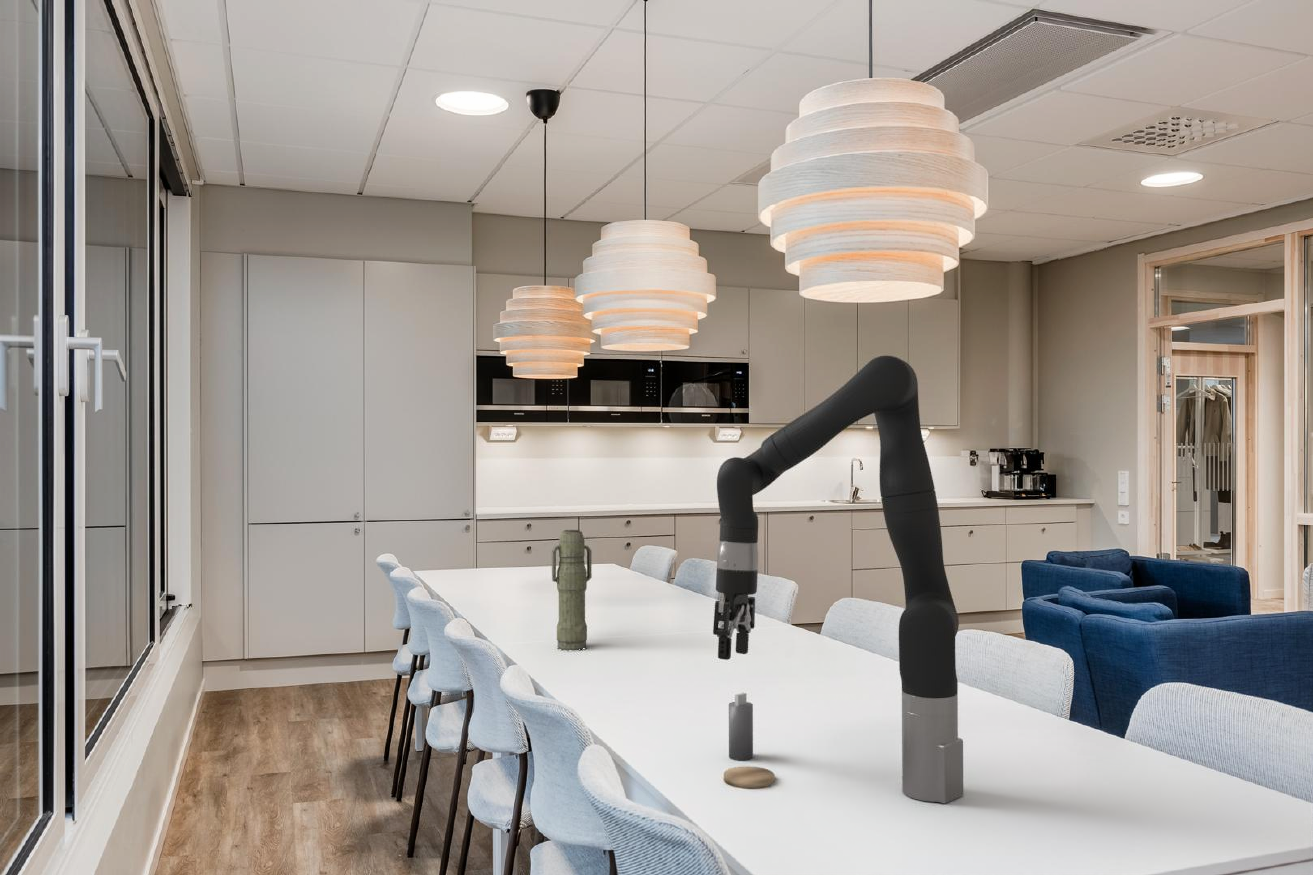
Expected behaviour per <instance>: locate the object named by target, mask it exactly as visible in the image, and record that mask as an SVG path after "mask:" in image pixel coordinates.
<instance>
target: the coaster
mask: <svg viewBox="0 0 1313 875" xmlns="http://www.w3.org/2000/svg"><path fill="white" fill-rule="evenodd" d="M723 782H724V783H725V784H727V785H729V786H731V787H735V788H739V787H740V789H761V788H762V787H763V788H766V787H770V786H772V785H774V783H775V773H774V772H773V771H771V770H770V769H767V768H764V767H759V766H749V765H747V766H746V765H745V766H744V765H743V766H735V767H730V768H728V769H726V770H725V771H724V772H723ZM763 788H762V789H763Z"/></svg>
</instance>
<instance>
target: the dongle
mask: <svg viewBox="0 0 1313 875" xmlns="http://www.w3.org/2000/svg"><path fill="white" fill-rule="evenodd" d="M753 706H754V704H753V703H752V702H749V701H747V693H746V692H741V693H735V694H734V701H733V702H729V704H728V757H729V759H730V760H733V761H738V762H741V761H742V762H744V761H750V760H753V759H754V726H753V725H754V707H753Z"/></svg>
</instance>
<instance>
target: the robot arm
mask: <svg viewBox="0 0 1313 875" xmlns="http://www.w3.org/2000/svg"><path fill="white" fill-rule="evenodd" d="M872 414H874V417H875V420H876V421H875V422H876V425H877V430H878V436H879V444H880V445H879V446H880V449H879V493H880V497H881V498H880V499H881V506H882V511H883V517H884V522H885V526H886V530H887V532H888V535H889V539H890V541H891V543H892V547H893V549H894V552H895V554H896V557H897V559H898V562H899V564H900V569H901V572H902V579H903V586H904V587H903V588H904V598H905V599H904V600H905V602H904V603H905V608H904V610H903V611H902V613H901V614H900V617H899V618H900V619H899V622H898V659H899V660H898V661H899V663H898V664H899V665H898V666H899V676H900V680H901V769H902V772H901V774H902V776H901V777H902V778H901V782H902V784H901V786H902V788H901V790H902V792H903V794H904V795H906V796H907V797H909V798H912V799H915V800H917V801H923V802H932V803H941V804H947V803H950V802H952V801H954V800H956V799H957V798H961V797H963V796H964V740H963V738H960V737H959V721H958V720H959V718H958V717H959V715H958V714H959V712H958V710H959V708H958V706H959V702H958V700H959V699H958V698H959V697H958V696H959V694H958V693H959V692H958V691H959V690H958V688H959V684H958V681H959V680H958V676H957V669H956V668H957V667H956V666H957V664H956V637H957V634H958V632H959V627H960V626H959V624H960V623H959V615H958V612H957V609H956V608H957V607H956V606H955V605H956V604H955V602H954V599H953V595H952V592H951V589H950V584H949V581H948V577H947V573H946V569H945V568H946V567H945V564H944V563H945V562H944V555H943V554H944V553H943V551H944V550H943V549H944V548H943V538H942V537H943V536H942V530H941V529H942V528H941V522H940V521H941V520H940V519H941V518H940V512H939V506H938V505H939V504H938V499H937V494H936V493H937V492H936V489H935V488H936V487H935V483H934V479H933V475H932V470H931V465H930V461H929V456H928V453H927V450H926V447H925V446H926V445H925V443H924V438H923V434H922V428H921V420H920V405H919V385H918V377H917V374H916V371H915V370H914V369H913V367H912V366H911V365H910V364H909V363H908V362H906V361H905V360H904V359H901V358H899V357H897V356H893V355H880V356H876V357H875V358H872V359H871V360H870V361H869V362H868V363H866V364H865V365H864V366H863V367H862V368H861V369H860V370H858V372H856V374H855V375H853V376H852V377H851V378H850V379H849V380H848V381H847V382H846V383H845V384H844V385H843V386H840V388H839V389H838V390H836V391H835V392H834V393H833V394H831V395H830V396H828V397H827V398H826V399H825V400H823V401H822V402H820V403H819V404H817V405H816V406H814V407H813V408H811V409H809V410H808V411H806V412H805V413H803V414H802V415H800V416H799V417H797V418H795V419H793V420H792V421H790V422H789V423H788V424H786V425H784V426H783V427H781V428H780V429H778V430H777V431H775V432H774V433H772V434H770V435H769V436H768V437H767V438H765V439H764V440H763V441H762V443H761V445H760V447H759V448H758V449H756V450H755V451H754V452H752V453H751V454H749V455H747V456H746V457H739V456H738V457H735V456H734V457H731V458H727V459H726V460H725V461H723V463H722V464H721V465H720V467H719V469H718V472H717V477H716V491H717V492H716V493H717V501H718V509H719V513H720V523H719V524H720V525H719V543H718V549H717V554H716V556H717V557H716V574H715V591H716V592H718V593H719V594H723V597H722V600H715V602H714V613H713V614H714V616H713V629H712V633H713V635H715V636H716V638H718V645H717V648H718V649H717V658H718V659H719V660H725V661H728V660H730V659H731V657H732V641H733V640H732V636H733V633H734V630H735V629H736V636H735V652H736V654H741V655H747V654H748V653H749V641H750V640H749V638H750V636H749V635H750V633H751V631H752V629H755V626H756V625H755V623H756V622H755V617H756V615H755V614H756V612H755V611H756V597H754V596H751V595H755V594H756V593H757V592H758V575H759V572H758V570H759V549H758V548H759V547H758V542H759V540H758V539H759V517H758V514H757V513H756V512H755V511H754V502H753V501H754V498H753V496H754V495H757V494H758V493H759V492H761V491H763V490H765V489H766V488H768V487H769V486H770V485H772V484H773V483H774V481H776V480H777V479H778V478H779V477H780V476H781V475H783V473H785V472H786V471H788V470H791V469H792V468H794V467H796V466H797V465H799V464H800V463H802V462H803V461H805V460H806V459H808V458H809V457H811V456H812V455H814V454H815V453H817V452H818V451H819V450H821V449H822V448H824V446H826V445H827V444H828V443H829V442H831V441H832V440H833V439H834V438H835V437H837V436H838V435H839V434H840V433H842V432H843V431H844V430H845V429H847V428H848V427H850V426H852V425H854V424H855V423H857V422H858V421H860V420H862V419H863V418H866V417H868V416H870V415H872Z"/></svg>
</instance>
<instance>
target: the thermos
mask: <svg viewBox="0 0 1313 875" xmlns="http://www.w3.org/2000/svg"><path fill="white" fill-rule="evenodd" d="M585 549H586V552H585ZM557 551H558V557H559V561H558V567H557ZM585 553H586V565H585ZM592 574H593V573H592V549H591V547H589V546H588V545H586V544H585V538H584V535H583V531H581V530H580V529H565V530H563V531H561V533H560V536H559V540H558V545H557V546H554V547H553V549H552V550H551V579H552V582H555V583H556V589H557V592H558V622H557V625H556V641H557V647H558V648H557V650H559V649H561V650H560V651H562V650H579V649H583V648H586V649H587V640H588V626H587V622H586V590H587V589H588V588H587V584H588V581H590V580H591V579H592V576H593V575H592ZM579 651H580V650H579Z"/></svg>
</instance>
